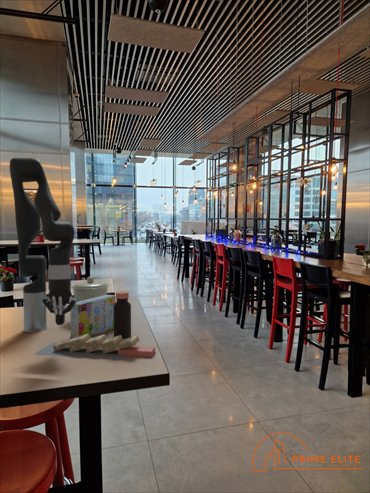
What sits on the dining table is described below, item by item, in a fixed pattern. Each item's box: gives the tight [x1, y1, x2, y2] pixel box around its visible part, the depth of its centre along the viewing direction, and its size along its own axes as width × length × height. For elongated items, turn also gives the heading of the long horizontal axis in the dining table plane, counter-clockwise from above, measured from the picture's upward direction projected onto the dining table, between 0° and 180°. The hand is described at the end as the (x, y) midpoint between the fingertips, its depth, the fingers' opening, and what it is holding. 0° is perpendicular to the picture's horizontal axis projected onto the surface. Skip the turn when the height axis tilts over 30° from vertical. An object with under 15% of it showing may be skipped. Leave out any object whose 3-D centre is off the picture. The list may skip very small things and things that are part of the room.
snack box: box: [69, 294, 117, 338], centre depth 135 cm, size 21×6×15 cm, turn 149°
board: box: [34, 341, 127, 360], centre depth 113 cm, size 32×12×1 cm, turn 82°
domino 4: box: [102, 335, 140, 354], centre depth 111 cm, size 2×5×12 cm
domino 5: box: [118, 344, 156, 358], centre depth 110 cm, size 2×5×12 cm
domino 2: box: [69, 334, 108, 352], centre depth 112 cm, size 2×5×12 cm
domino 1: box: [53, 334, 91, 351], centre depth 113 cm, size 2×5×12 cm
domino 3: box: [85, 335, 123, 353], centre depth 112 cm, size 2×5×12 cm
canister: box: [71, 276, 110, 302], centre depth 160 cm, size 18×18×21 cm
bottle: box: [113, 290, 132, 339], centre depth 123 cm, size 7×7×20 cm
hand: (60, 324), depth 114 cm, fingers closed
